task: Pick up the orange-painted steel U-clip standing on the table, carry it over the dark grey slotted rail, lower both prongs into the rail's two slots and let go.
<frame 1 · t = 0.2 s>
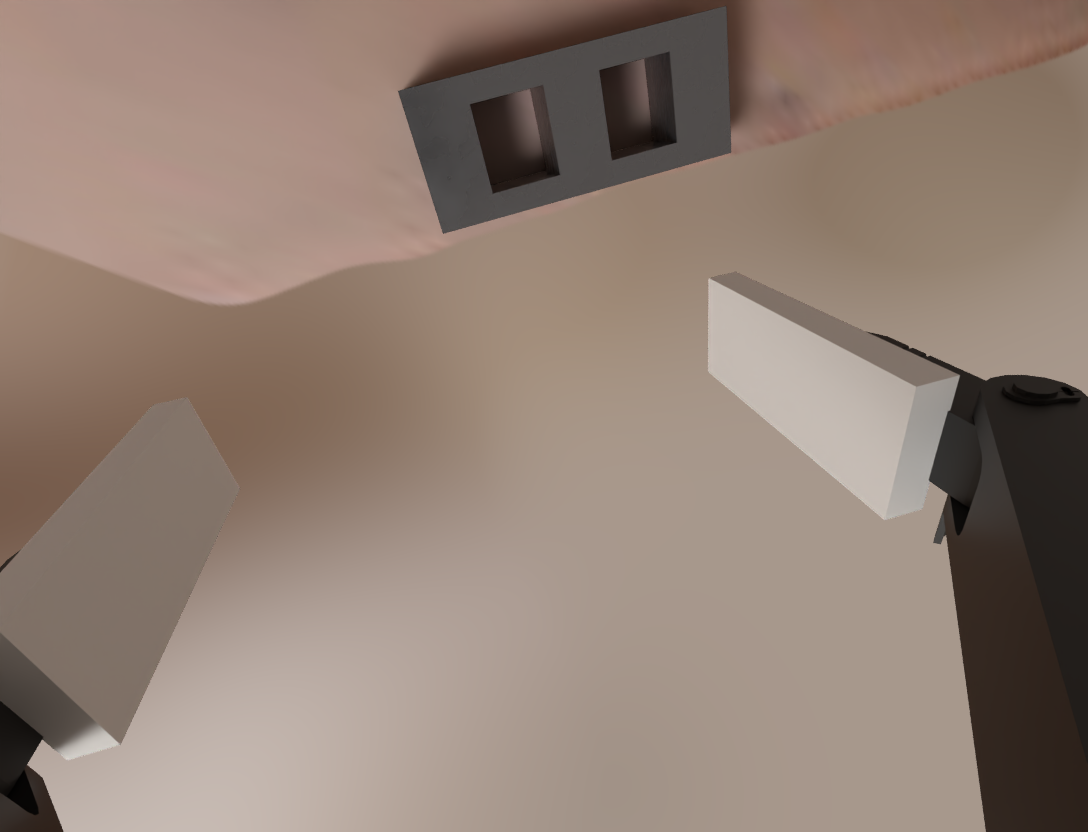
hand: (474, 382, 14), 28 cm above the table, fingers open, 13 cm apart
rail: (563, 124, 36), on the table
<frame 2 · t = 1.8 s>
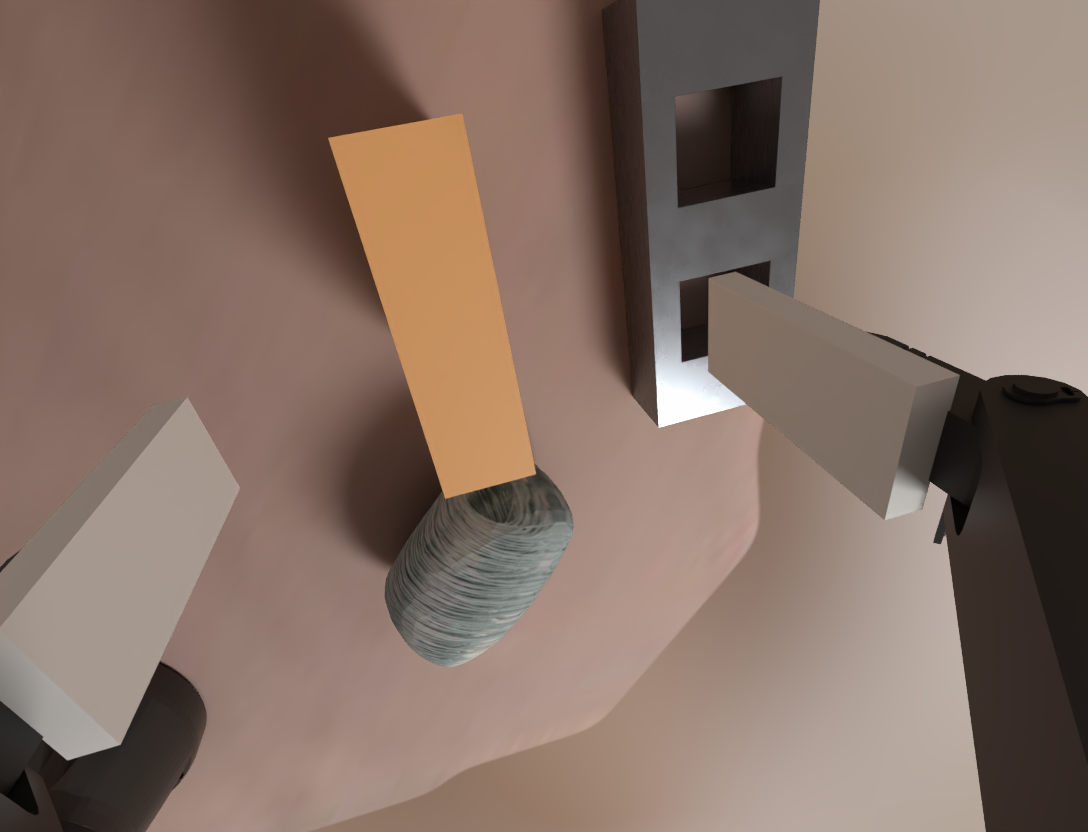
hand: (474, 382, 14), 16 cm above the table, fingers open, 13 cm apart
clip: (433, 258, 27), on the table
spool: (470, 515, 36), on the table
rail: (688, 222, 29), on the table
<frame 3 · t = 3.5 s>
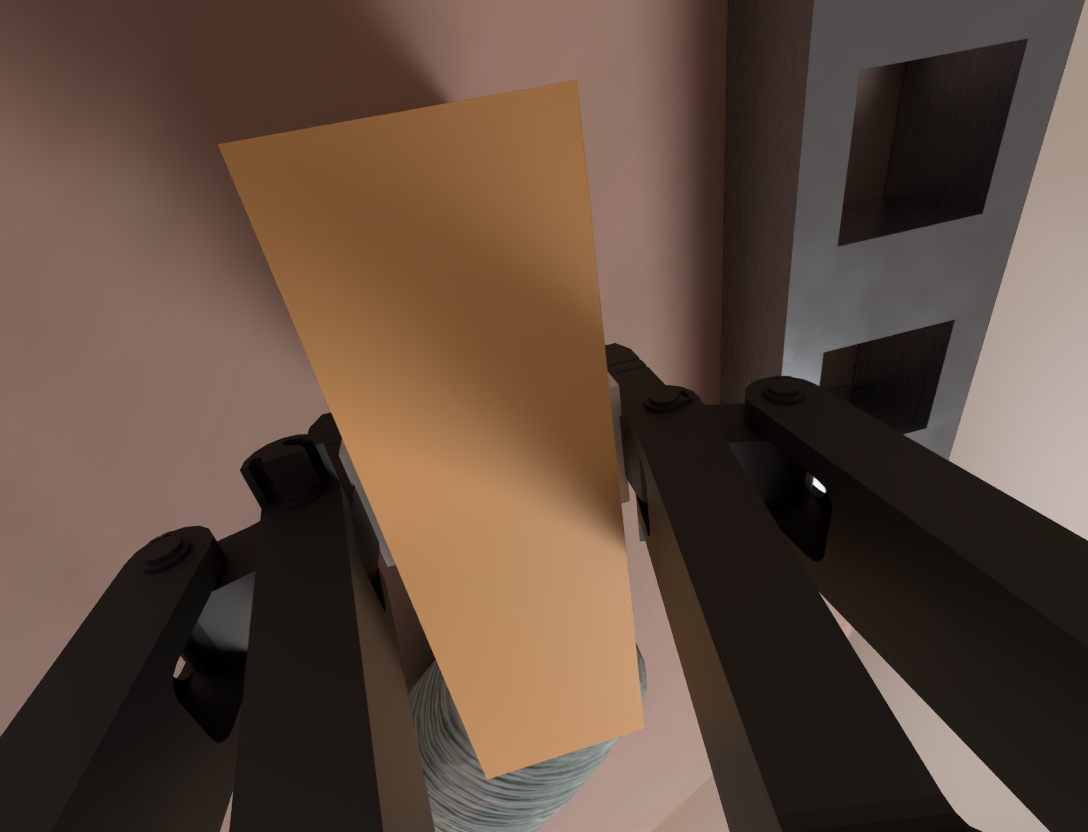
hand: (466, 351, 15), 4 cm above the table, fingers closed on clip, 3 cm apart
clip: (457, 313, 18), on the table, touching gripper
spool: (497, 632, 27), on the table
rail: (818, 258, 20), on the table
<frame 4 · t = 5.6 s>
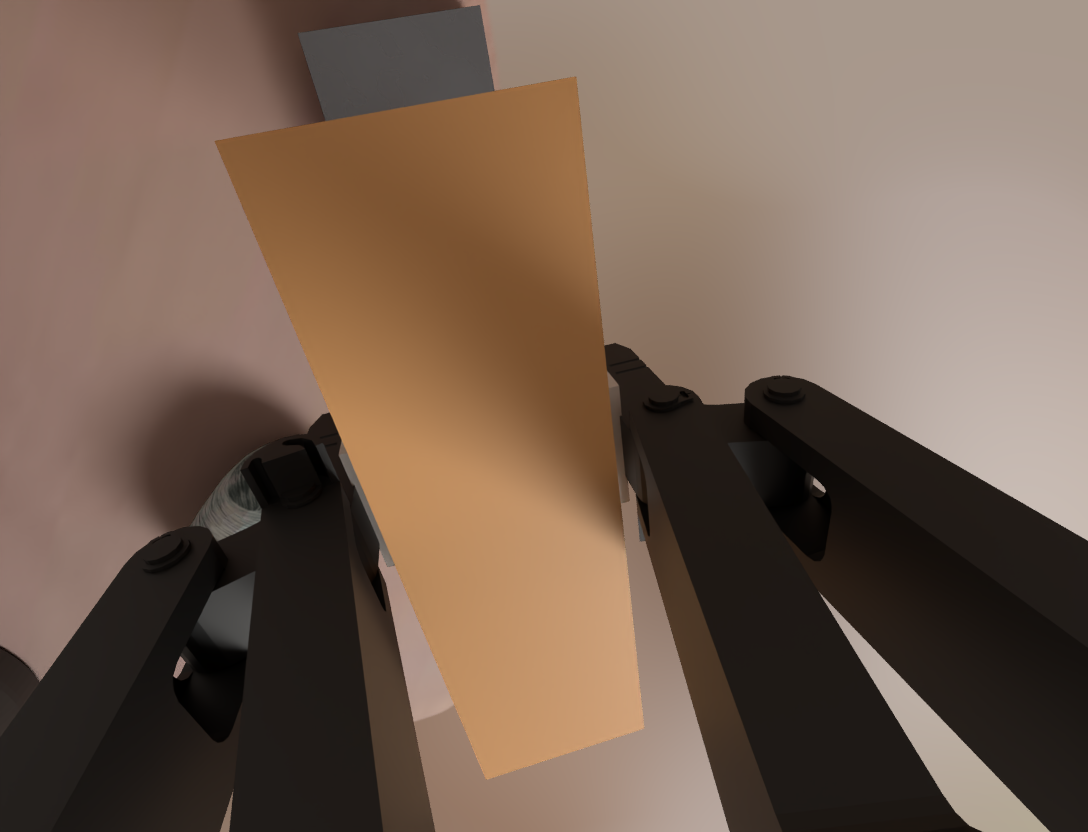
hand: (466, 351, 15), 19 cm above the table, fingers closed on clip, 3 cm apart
clip: (457, 312, 18), point 15 cm above the table, touching gripper
spool: (278, 505, 38), on the table
rail: (442, 235, 32), on the table
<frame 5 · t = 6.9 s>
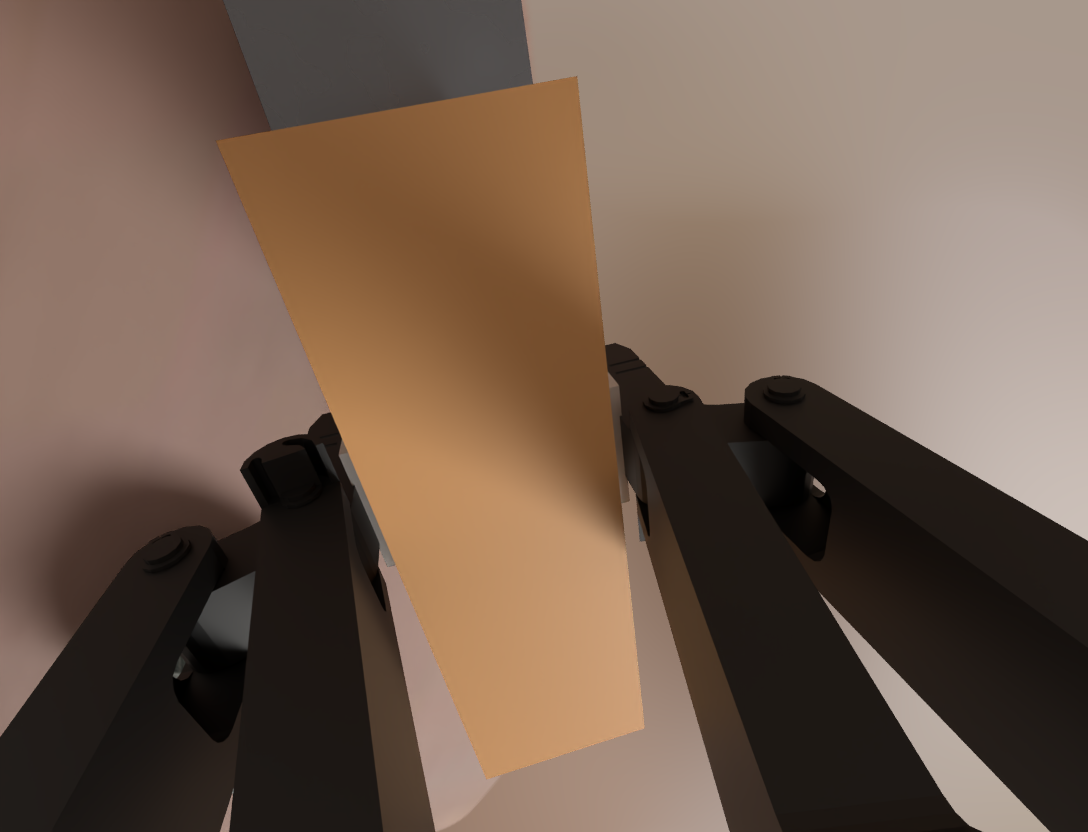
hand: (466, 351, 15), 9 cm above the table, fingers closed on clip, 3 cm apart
clip: (457, 312, 18), point 5 cm above the table, touching gripper
rail: (448, 277, 23), on the table
when the fingers open (5 cm above the table, at t = 7.7 s): clip drops 1 cm, resting on rail.
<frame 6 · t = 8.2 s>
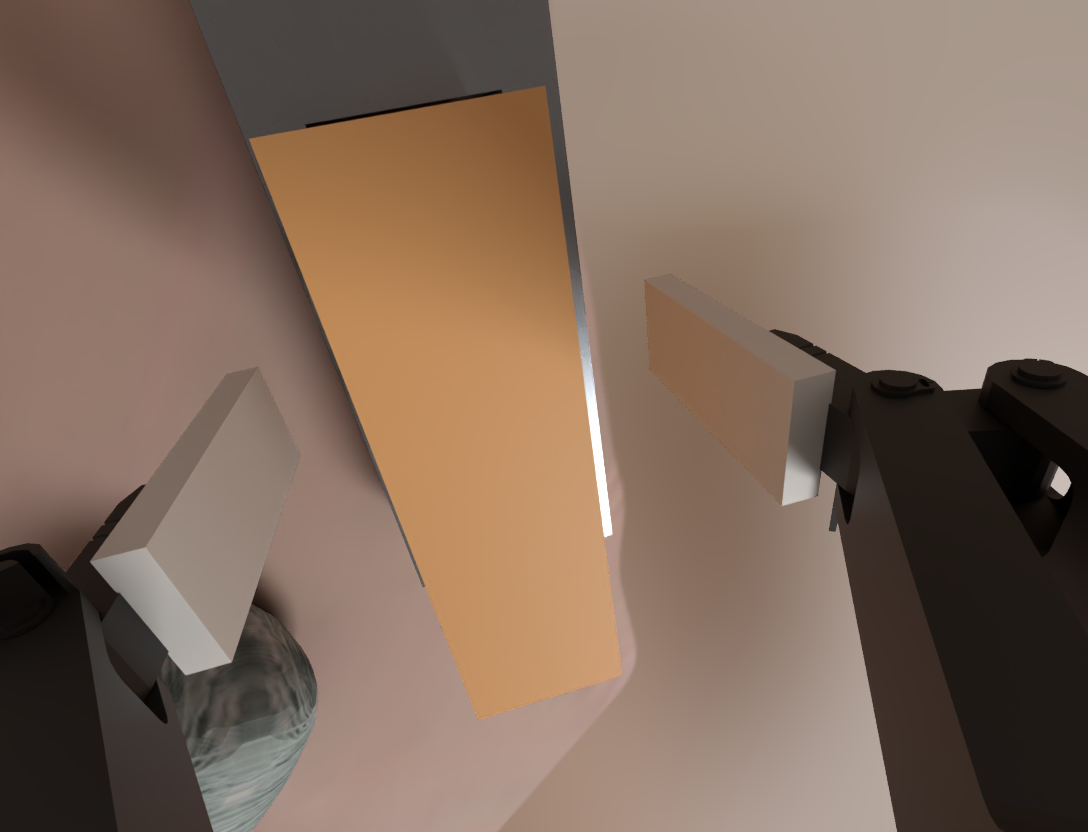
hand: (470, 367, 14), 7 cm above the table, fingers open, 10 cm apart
clip: (453, 302, 19), resting on rail
spool: (218, 669, 27), on the table
rail: (453, 298, 20), on the table
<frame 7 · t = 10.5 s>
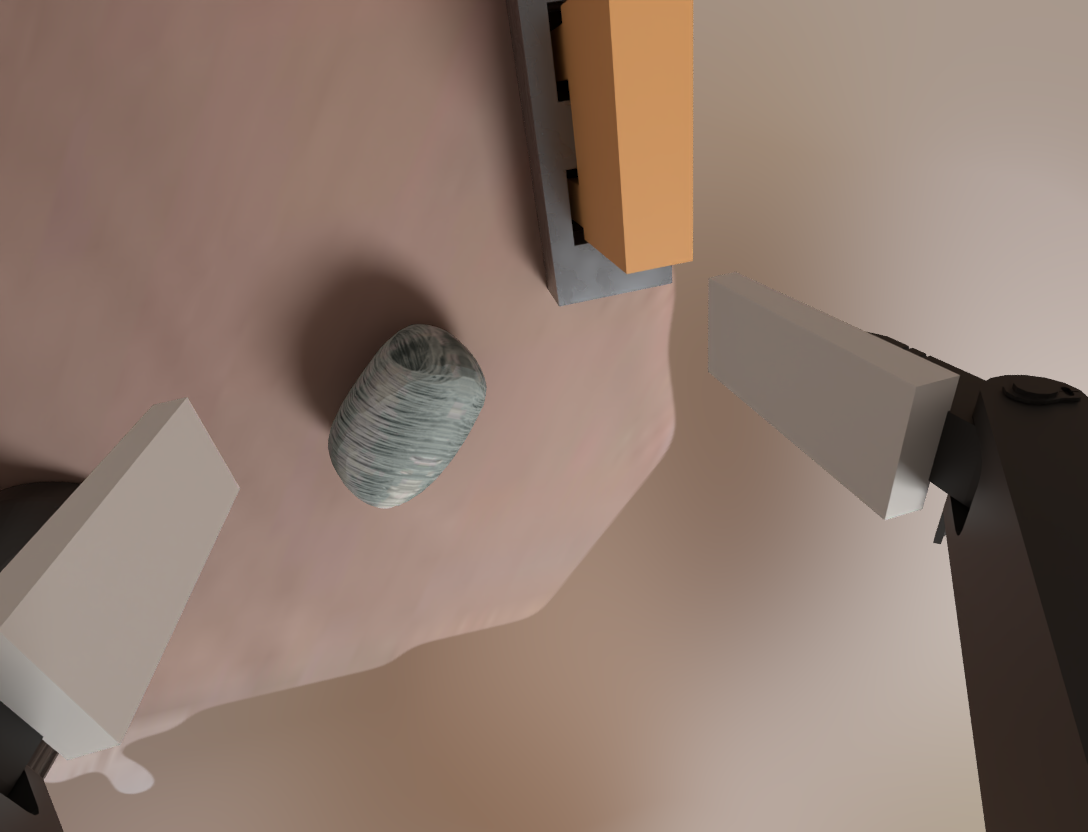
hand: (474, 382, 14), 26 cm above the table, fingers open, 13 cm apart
clip: (587, 128, 34), resting on rail
spool: (409, 392, 41), on the table
rail: (586, 128, 34), on the table
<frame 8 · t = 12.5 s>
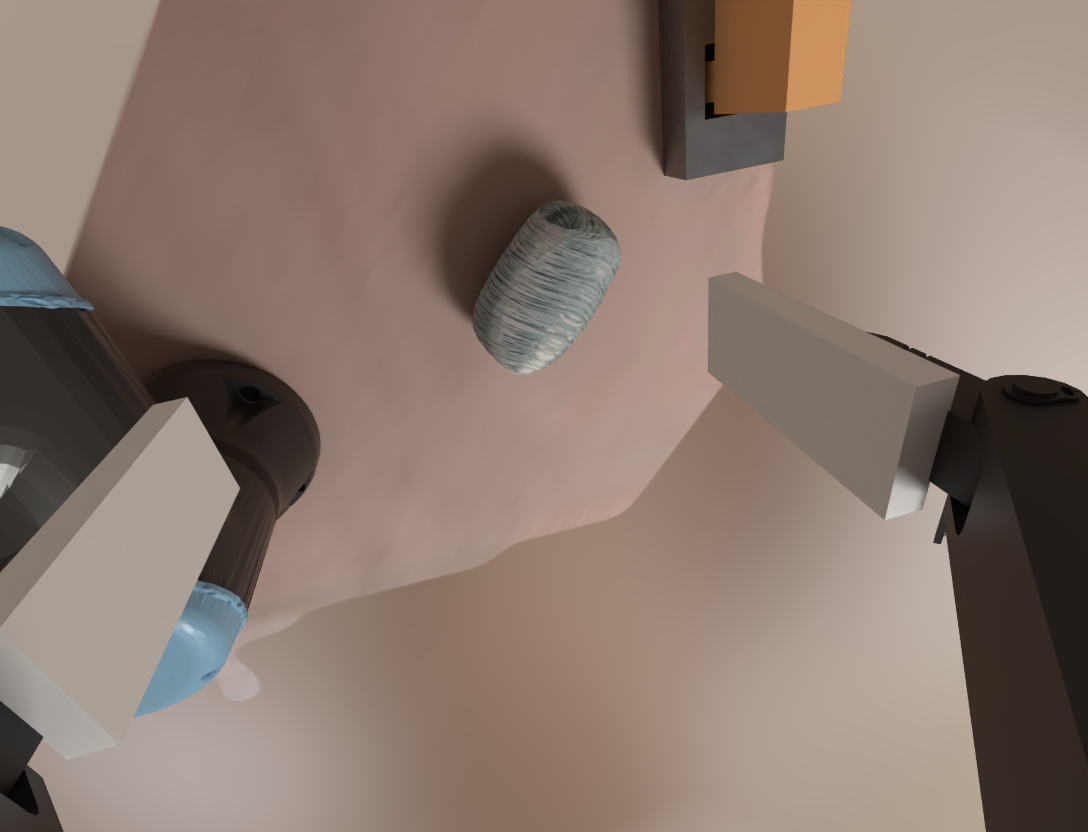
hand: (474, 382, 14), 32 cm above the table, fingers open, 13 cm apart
clip: (713, 15, 38), resting on rail
spool: (533, 277, 45), on the table
rail: (710, 17, 38), on the table
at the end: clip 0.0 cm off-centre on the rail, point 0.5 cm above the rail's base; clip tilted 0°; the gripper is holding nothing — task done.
